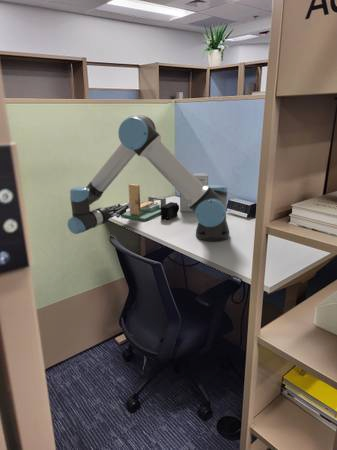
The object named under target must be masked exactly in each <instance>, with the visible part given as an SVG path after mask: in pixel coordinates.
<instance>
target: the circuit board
mask: <svg viewBox="0 0 337 450" xmlns="http://www.w3.org/2000/svg"><path fill="white" fill-rule="evenodd" d="M158 216H161V204H159V209H157V210H155V211H152V212H148V211H143V210H141V215H140V216H138V215H133V214H130V210H126V212H125V213H124V214H122V215H121V216H120V217H122V218H126V219H131V220H135V221H141V222H147V221H149V220H152V219H153V218H155V217H158Z"/></svg>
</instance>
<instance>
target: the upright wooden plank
mask: <svg viewBox="0 0 337 450" xmlns="http://www.w3.org/2000/svg"><path fill="white" fill-rule="evenodd" d="M140 186H141V185H140V184H134V183H129V184H128V198H129V199H128V200H129V201H128V202H131V208H129V211H130V214H133V215H138V216H140V215H141V208H143V207H146V206H148V205H151V204H153V203H155V201H154V202H149V201H145V202H142V203H141V191H140V189H141V188H140Z"/></svg>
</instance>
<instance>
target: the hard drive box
mask: <svg viewBox="0 0 337 450" xmlns="http://www.w3.org/2000/svg"><path fill="white" fill-rule="evenodd" d="M191 174H192V175H193V176H194V177H195V178H196V179H197V180H198V181H199V182H200V183H201V184H202V185H203V186H205V185H209V174H208V173H191ZM179 202H180V203H179V212H193V211H192V210H191V209H190V208H189V207H188V201H187V199H186V198H185V197H184V196H183V195H182V194H181V193H180V192H179Z"/></svg>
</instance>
